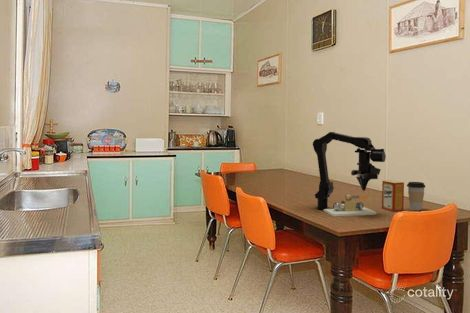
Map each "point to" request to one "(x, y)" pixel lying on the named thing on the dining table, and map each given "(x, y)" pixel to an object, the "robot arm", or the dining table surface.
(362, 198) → the lever
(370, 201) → the dining table surface
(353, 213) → the board
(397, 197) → the baking soda box
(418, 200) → the coffee cup
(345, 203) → the valve
